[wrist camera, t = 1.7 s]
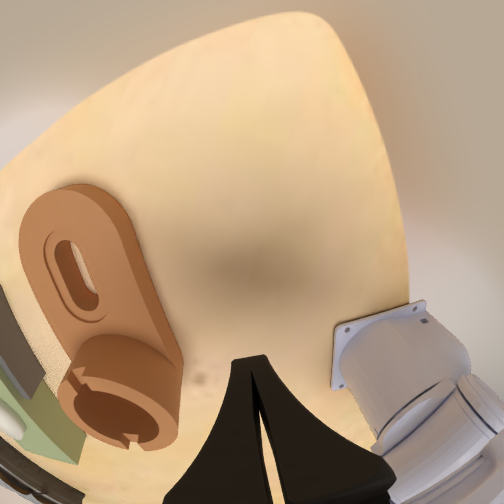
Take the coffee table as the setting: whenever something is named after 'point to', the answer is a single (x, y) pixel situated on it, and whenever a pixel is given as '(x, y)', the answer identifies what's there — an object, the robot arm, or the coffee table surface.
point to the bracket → (103, 318)
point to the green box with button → (31, 399)
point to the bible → (33, 479)
